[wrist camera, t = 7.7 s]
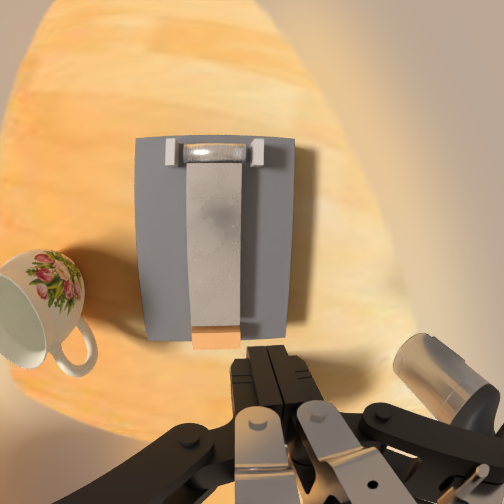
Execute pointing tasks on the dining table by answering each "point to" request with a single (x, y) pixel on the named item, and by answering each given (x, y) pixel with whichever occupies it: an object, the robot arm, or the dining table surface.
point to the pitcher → (42, 310)
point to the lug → (216, 337)
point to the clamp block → (252, 234)
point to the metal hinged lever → (214, 231)
